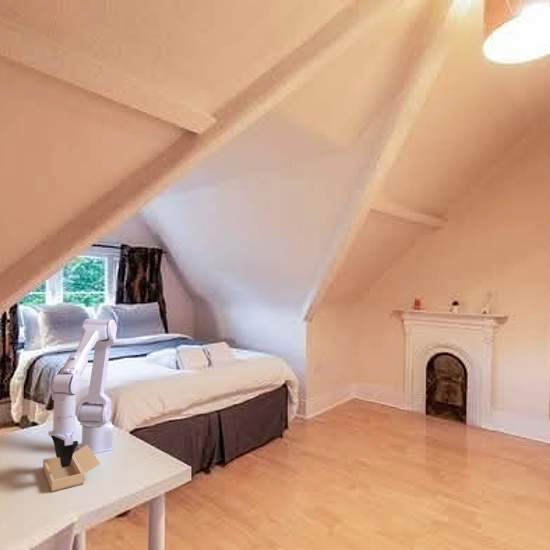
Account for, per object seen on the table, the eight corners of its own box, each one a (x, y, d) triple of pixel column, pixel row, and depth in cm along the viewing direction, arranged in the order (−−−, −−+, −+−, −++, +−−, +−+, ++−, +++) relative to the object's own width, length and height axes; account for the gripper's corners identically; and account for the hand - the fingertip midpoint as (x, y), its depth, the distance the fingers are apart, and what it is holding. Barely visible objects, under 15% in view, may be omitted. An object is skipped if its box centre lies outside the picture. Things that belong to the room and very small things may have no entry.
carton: (71, 462, 132) (72, 453, 132) (83, 484, 119) (83, 473, 119) (42, 469, 127) (43, 459, 127) (51, 492, 114) (52, 481, 114)
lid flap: (73, 453, 131) (73, 454, 132) (84, 472, 119) (85, 474, 119) (87, 444, 134) (88, 446, 134) (99, 462, 122) (100, 464, 122)
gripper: (45, 410, 126) (43, 455, 126) (53, 425, 115) (52, 475, 115) (70, 406, 130) (69, 450, 130) (81, 420, 119) (79, 468, 119)
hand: (63, 461), depth 123 cm, fingers open, 7 cm apart
